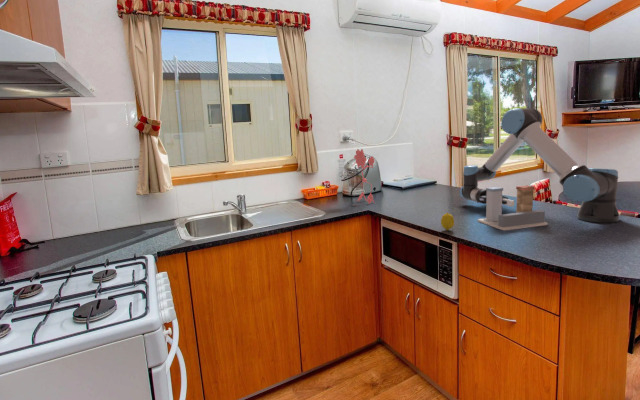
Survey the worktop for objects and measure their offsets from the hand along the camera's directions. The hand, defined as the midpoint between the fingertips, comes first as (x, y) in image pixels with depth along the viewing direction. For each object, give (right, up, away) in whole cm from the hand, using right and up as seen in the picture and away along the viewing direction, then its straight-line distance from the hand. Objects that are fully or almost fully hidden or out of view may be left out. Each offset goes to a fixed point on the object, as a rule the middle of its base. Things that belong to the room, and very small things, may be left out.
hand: (513, 203), depth 173 cm
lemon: (-36, -12, -12) cm, 39 cm away
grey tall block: (-12, -8, -5) cm, 15 cm away
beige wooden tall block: (+2, -7, -6) cm, 9 cm away
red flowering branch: (-66, -1, +60) cm, 89 cm away
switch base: (-4, -9, -7) cm, 12 cm away
